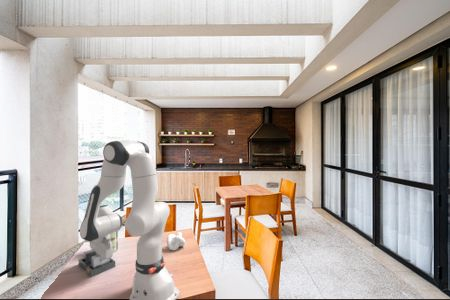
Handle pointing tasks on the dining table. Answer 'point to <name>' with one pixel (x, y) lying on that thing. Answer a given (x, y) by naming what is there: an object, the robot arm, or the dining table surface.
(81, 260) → the rack
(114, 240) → the coffee can
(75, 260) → the dining table surface
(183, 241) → the white lumpy piece
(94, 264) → the grey rectangular block
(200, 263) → the dining table surface
